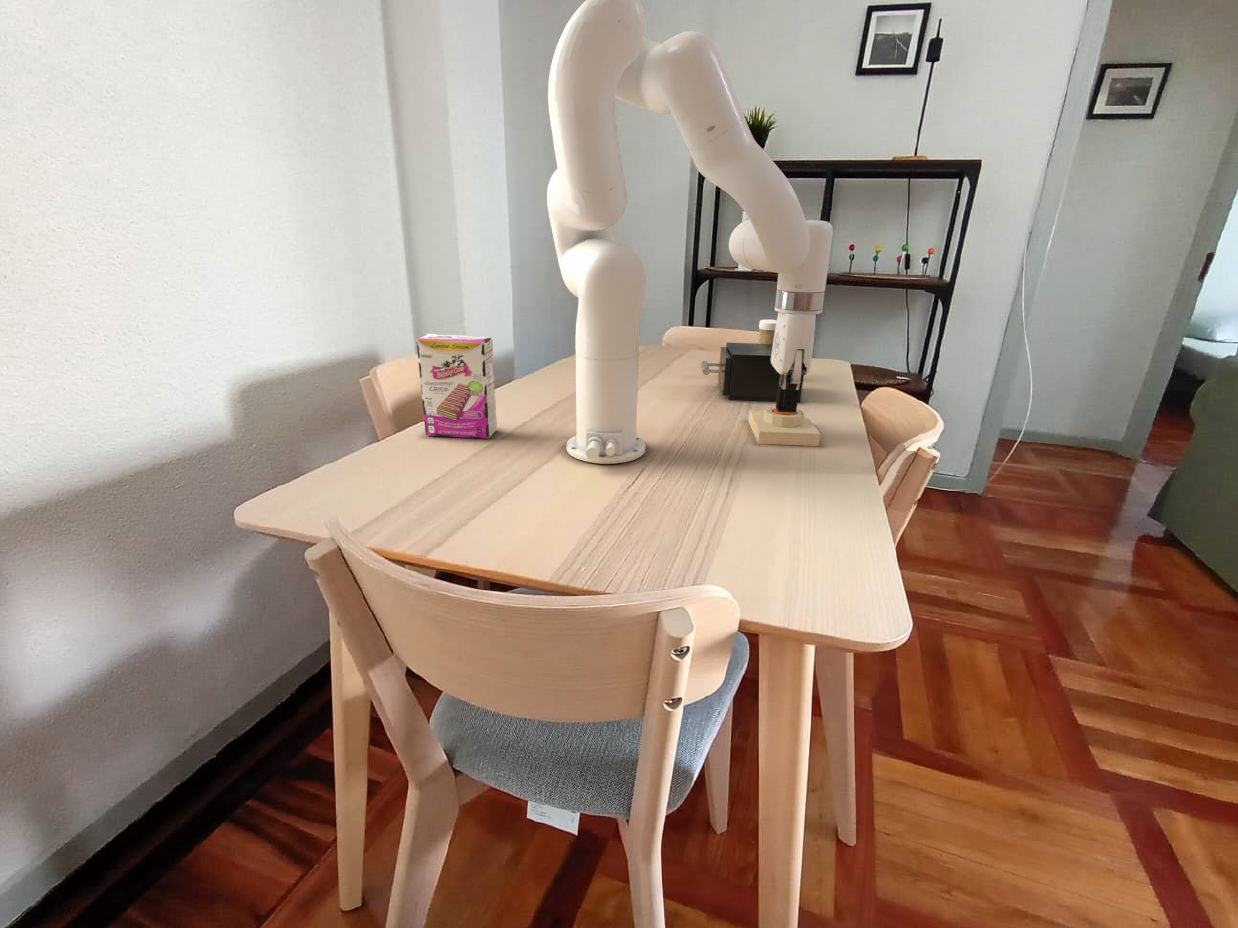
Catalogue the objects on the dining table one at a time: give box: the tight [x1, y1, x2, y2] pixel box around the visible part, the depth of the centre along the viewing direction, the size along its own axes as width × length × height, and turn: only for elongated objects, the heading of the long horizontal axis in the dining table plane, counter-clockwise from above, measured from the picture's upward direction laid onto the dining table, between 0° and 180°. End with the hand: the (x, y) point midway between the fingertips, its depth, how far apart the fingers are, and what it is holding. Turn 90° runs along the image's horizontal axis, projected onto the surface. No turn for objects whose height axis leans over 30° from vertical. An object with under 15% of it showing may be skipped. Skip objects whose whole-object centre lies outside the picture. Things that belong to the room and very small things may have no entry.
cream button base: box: [748, 405, 821, 447], centre depth 106 cm, size 12×10×4 cm
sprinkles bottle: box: [757, 319, 777, 344], centre depth 141 cm, size 5×5×14 cm
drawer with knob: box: [700, 346, 732, 396], centre depth 130 cm, size 18×11×8 cm, turn 86°
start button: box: [774, 409, 795, 415], centre depth 106 cm, size 4×4×2 cm
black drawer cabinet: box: [725, 342, 805, 404], centre depth 129 cm, size 15×13×10 cm
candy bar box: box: [415, 333, 498, 440], centre depth 100 cm, size 11×5×16 cm, turn 85°
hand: (785, 410), depth 106 cm, fingers closed
